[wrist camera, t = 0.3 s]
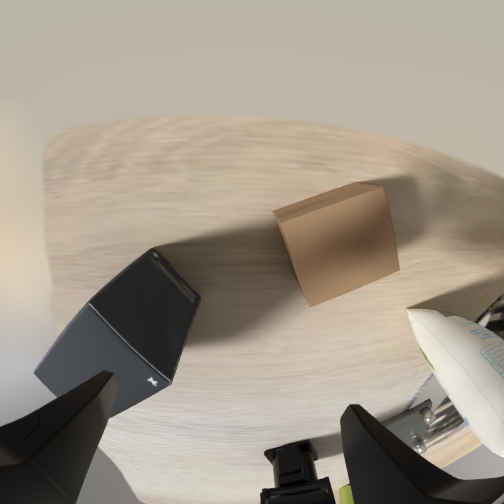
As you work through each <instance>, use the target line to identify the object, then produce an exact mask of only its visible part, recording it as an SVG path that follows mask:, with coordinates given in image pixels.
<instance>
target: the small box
mask: <svg viewBox="0 0 504 504" xmlns="http://www.w3.org/2000/svg"><path fill="white" fill-rule="evenodd" d="M200 302H201V297H199V295H198V294H197V293H196V292H195V291H193V290H192V289H191V288H190V286H188V285H187V284H186V283H185V282H184V280H183V279H182V278H181V277H180V276H179V275H178V274H177V273H176V272H175V270H173V269H172V267H171V266H170V265H169V264H168V262H167V261H166V260H165V259H164V258H163V257H162V256H161V255H160V254H159V253H158V252H157V251H156V250H155V249H154V248H151V249H149V250H148V251H147V252H145V253H144V254H143V255H141V256H140V257H139V258H137V259H136V260H135V261H133V262H132V263H131V264H130V265H128V266H127V267H126V268H125V269H124V270H122V271H121V272H120V273H119V274H118V275H117V276H115V277H114V278H113V279H112V280H111V281H110V282H109V283H107V284H106V285H105V286H104V287H103V288H102V289H101V290H100V291H99V292H97V293H96V294H95V295H94V296H93V297H92V298H91V299H90V300H89V301H88V302H87V303H86V304H85V305H84V307H83V308H82V309H81V310H80V311H79V312H78V313H77V314H76V315H75V317H74V318H73V319H72V320H71V321H70V322H69V323H68V325H67V326H66V327H65V329H64V330H63V331H62V333H61V334H60V335H59V337H58V338H57V339H56V341H55V342H54V343H53V345H52V346H51V348H50V349H49V350H48V352H47V353H46V355H45V356H44V357H43V359H42V360H41V362H40V363H39V365H38V366H37V368H36V369H35V371H34V374H35V375H36V376H37V377H38V378H39V379H40V380H41V382H42V383H43V384H44V385H45V386H46V387H47V388H48V389H49V390H50V391H52V393H53V394H54V395H56V396H57V397H59V396H61V395H63V394H65V393H66V392H68V391H70V390H71V389H73V388H75V387H76V386H78V385H80V384H81V383H83V382H85V381H86V380H88V379H90V378H91V377H93V376H95V375H96V374H98V373H100V372H101V371H103V370H107V371H110V372H113V373H114V374H115V379H116V385H117V392H116V395H115V399H114V402H113V405H112V409H111V412H110V415H109V418H111V417H113V416H115V415H117V414H119V413H121V412H123V411H125V410H127V409H128V408H130V407H132V406H134V405H136V404H138V403H140V402H141V401H143V400H145V399H147V398H149V397H150V396H152V395H154V394H156V393H157V392H159V391H161V390H162V389H164V388H166V387H168V386H169V385H171V384H172V381H173V378H174V375H175V372H176V370H177V367H178V363H179V361H180V357H181V355H182V351H183V348H184V345H185V343H186V340H187V336H188V332H189V330H190V328H191V325H192V322H193V319H194V316H195V314H196V311H197V309H198V307H199V304H200Z"/></svg>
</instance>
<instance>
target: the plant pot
mask: <svg viewBox="0 0 504 504" xmlns="http://www.w3.org/2000/svg"><path fill="white" fill-rule="evenodd" d="M339 496H340V504H354V502H353V497H352V492H351V487H350V485H346V486H344V487H343V488H341V489H340V490H339Z"/></svg>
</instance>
